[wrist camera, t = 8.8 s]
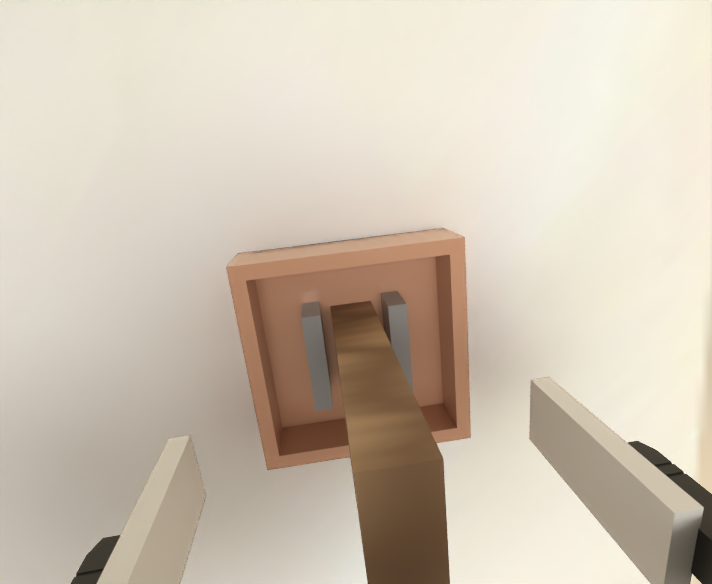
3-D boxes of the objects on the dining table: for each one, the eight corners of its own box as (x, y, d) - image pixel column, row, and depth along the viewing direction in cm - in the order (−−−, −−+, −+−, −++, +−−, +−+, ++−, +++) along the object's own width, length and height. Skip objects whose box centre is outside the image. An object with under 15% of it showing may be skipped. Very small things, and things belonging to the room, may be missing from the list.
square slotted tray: (272, 432, 27) (267, 470, 24) (238, 253, 24) (226, 267, 20) (451, 405, 28) (470, 437, 25) (443, 228, 24) (464, 237, 21)
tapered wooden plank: (339, 379, 26) (371, 607, 12) (330, 306, 24) (353, 473, 11) (378, 373, 26) (450, 592, 12) (370, 300, 24) (443, 458, 11)
